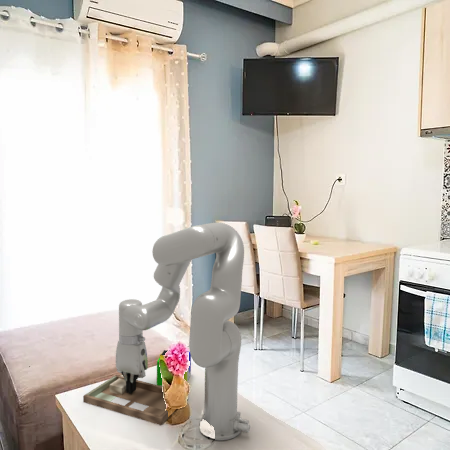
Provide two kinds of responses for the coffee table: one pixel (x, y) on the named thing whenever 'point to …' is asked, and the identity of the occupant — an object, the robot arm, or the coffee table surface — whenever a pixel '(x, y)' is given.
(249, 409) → the coffee table surface
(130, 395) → the box
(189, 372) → the puzzle toy
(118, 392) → the block
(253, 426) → the coffee table surface
